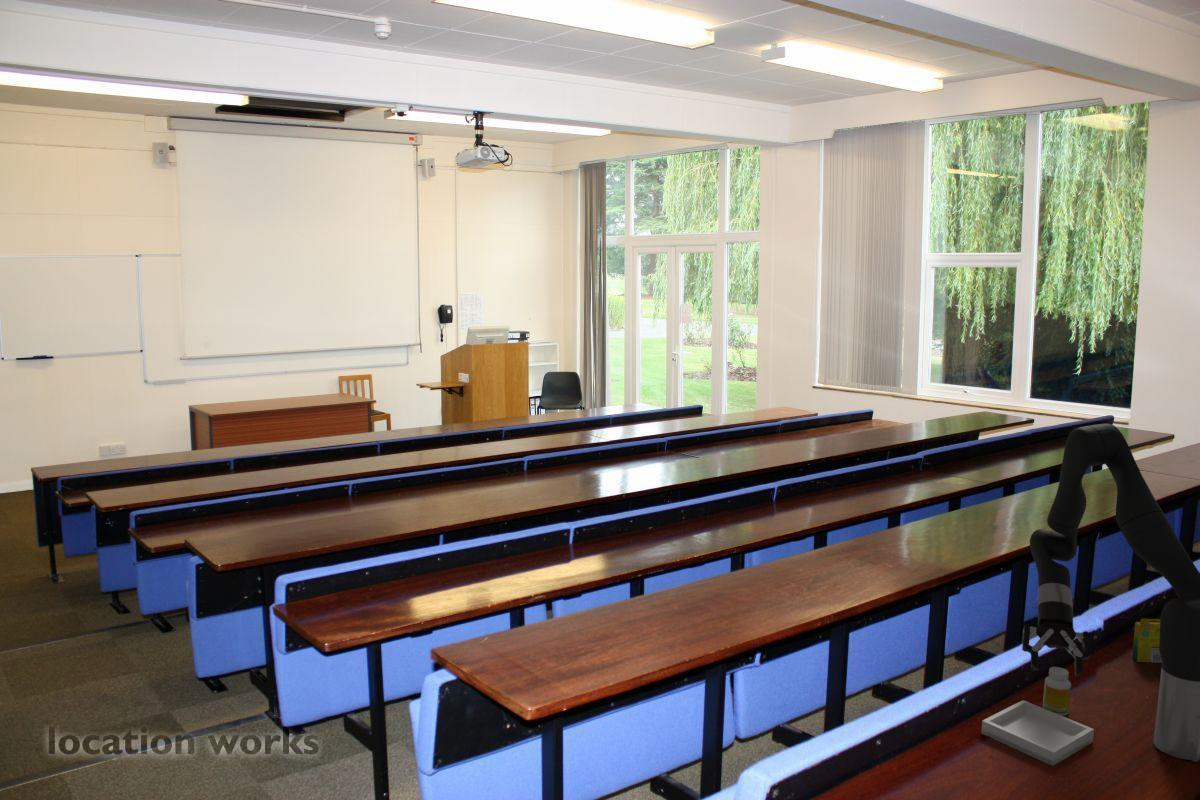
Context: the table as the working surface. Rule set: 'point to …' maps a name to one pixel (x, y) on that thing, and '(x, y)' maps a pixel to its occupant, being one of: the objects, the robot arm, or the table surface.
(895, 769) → the table surface
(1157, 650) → the crayon box
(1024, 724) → the tray
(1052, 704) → the supplement bottle
